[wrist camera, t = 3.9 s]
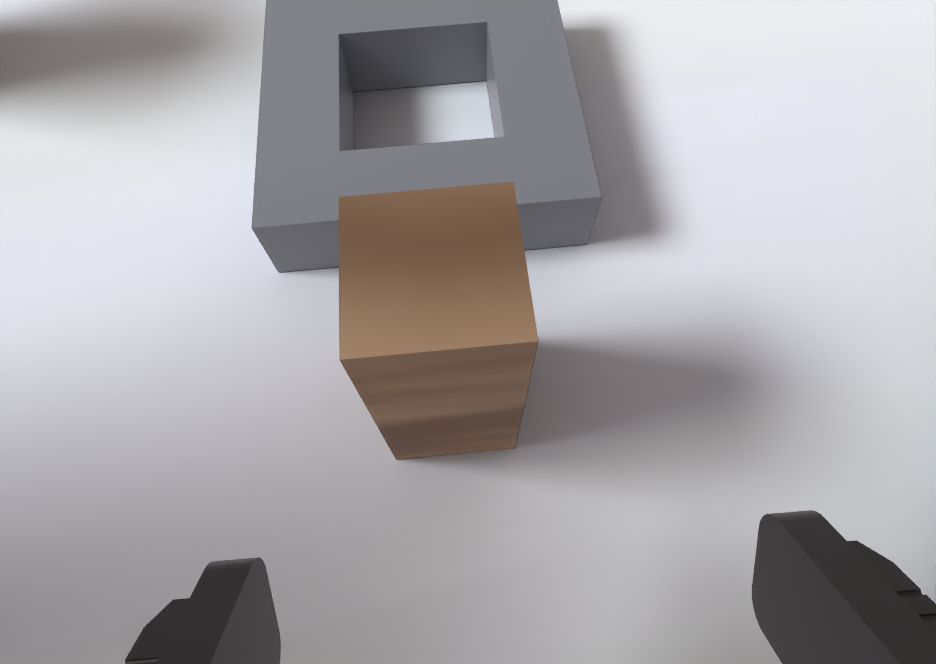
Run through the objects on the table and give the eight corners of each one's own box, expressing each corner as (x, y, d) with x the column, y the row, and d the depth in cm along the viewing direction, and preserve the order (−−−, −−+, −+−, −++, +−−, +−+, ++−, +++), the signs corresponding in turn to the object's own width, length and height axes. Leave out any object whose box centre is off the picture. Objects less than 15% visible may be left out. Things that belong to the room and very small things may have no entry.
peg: (515, 448, 20) (537, 340, 12) (396, 459, 20) (339, 359, 12) (501, 339, 22) (513, 181, 14) (391, 349, 22) (338, 196, 14)
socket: (587, 244, 24) (601, 196, 21) (278, 272, 23) (251, 228, 21) (543, 28, 29) (549, -33, 26) (287, 49, 28) (267, -11, 26)
